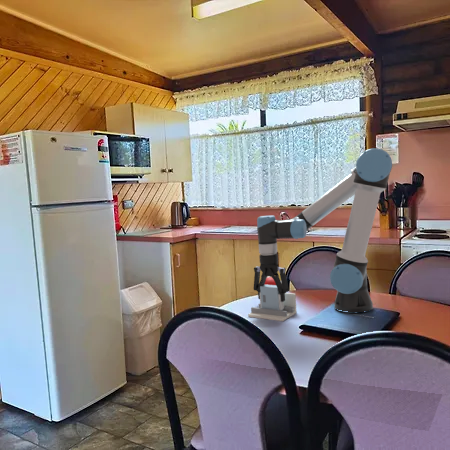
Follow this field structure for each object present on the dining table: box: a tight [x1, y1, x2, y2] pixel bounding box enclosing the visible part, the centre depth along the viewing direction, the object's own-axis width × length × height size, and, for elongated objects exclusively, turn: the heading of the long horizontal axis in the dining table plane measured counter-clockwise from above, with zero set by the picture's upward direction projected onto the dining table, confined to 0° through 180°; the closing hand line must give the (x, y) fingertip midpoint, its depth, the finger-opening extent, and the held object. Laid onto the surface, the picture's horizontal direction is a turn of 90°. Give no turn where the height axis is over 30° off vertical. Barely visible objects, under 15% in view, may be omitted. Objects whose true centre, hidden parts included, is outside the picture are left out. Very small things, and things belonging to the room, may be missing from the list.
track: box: [247, 292, 298, 322], centre depth 171 cm, size 16×12×8 cm
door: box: [260, 285, 283, 311], centre depth 171 cm, size 8×4×10 cm, turn 54°
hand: (272, 308), depth 171 cm, fingers closed on door, 8 cm apart
